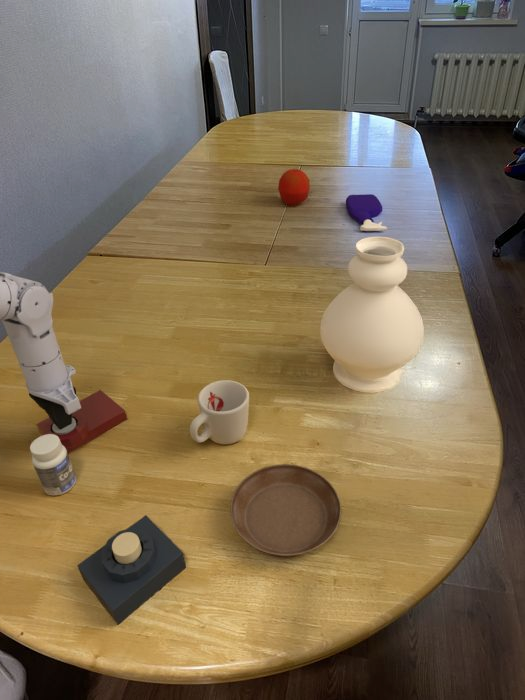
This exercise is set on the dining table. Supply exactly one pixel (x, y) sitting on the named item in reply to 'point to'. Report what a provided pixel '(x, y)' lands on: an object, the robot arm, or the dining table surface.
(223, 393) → the cup
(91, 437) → the red socket plate
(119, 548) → the cylindrical peg
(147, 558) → the dark knob button block
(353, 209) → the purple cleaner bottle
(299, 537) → the saucer
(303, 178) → the apple
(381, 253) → the decorative vase
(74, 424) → the light grey cylinder
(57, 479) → the pill bottle
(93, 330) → the dining table surface
